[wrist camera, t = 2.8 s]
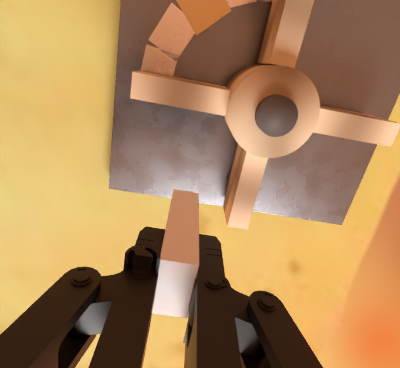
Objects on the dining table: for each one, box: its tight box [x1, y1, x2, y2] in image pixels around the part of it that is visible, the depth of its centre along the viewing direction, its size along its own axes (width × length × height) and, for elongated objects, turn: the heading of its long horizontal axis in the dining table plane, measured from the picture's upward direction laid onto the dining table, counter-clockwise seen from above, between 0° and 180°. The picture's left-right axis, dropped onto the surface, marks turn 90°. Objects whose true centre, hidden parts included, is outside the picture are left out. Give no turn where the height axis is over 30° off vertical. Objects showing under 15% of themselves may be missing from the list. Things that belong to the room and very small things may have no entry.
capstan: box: [130, 0, 400, 229], centre depth 19 cm, size 18×19×7 cm
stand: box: [109, 0, 400, 225], centre depth 23 cm, size 22×19×2 cm
